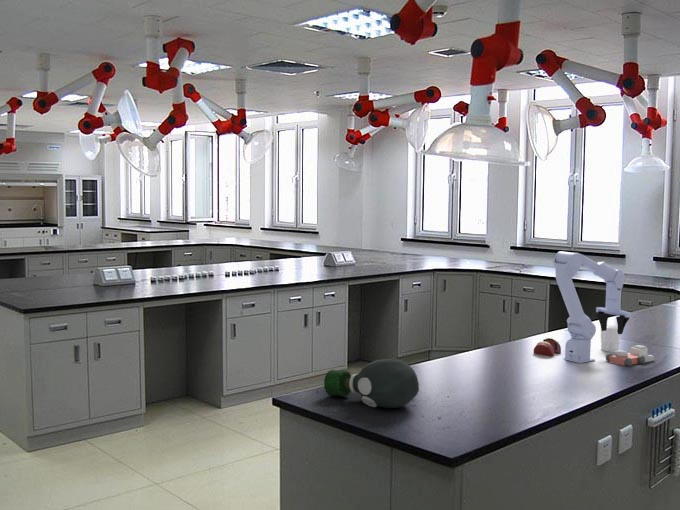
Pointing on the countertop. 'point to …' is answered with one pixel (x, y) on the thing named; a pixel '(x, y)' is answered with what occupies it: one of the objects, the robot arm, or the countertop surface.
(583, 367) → the countertop surface
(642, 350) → the white drawer box
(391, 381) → the gas mask
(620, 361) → the toy car
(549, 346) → the red rounded pieces
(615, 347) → the white cup
